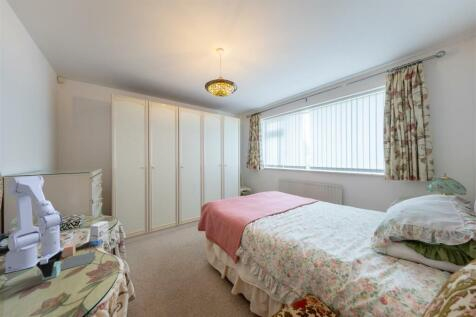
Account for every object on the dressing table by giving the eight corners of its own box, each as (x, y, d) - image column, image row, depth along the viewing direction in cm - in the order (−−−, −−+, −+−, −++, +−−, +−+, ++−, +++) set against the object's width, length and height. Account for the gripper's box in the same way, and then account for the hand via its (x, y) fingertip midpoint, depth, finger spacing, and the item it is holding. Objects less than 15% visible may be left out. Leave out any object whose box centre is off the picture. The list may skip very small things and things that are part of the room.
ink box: (98, 245, 105) (97, 226, 105) (89, 245, 105) (89, 226, 105) (108, 238, 114) (108, 220, 114) (101, 238, 114) (100, 220, 114)
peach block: (61, 258, 93) (61, 248, 93) (64, 254, 97) (64, 245, 97) (73, 255, 95) (72, 246, 95) (75, 251, 99) (75, 242, 99)
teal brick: (42, 280, 76) (41, 269, 76) (46, 274, 80) (46, 263, 80) (56, 277, 78) (56, 265, 78) (60, 271, 82) (60, 260, 82)
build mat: (57, 271, 82) (57, 270, 82) (66, 258, 92) (66, 257, 92) (90, 263, 88) (90, 262, 88) (95, 251, 98) (95, 251, 98)
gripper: (56, 246, 74) (57, 277, 75) (68, 233, 87) (69, 260, 87) (32, 250, 71) (33, 284, 71) (48, 236, 83) (49, 265, 84)
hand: (51, 271), depth 79 cm, fingers open, 7 cm apart
